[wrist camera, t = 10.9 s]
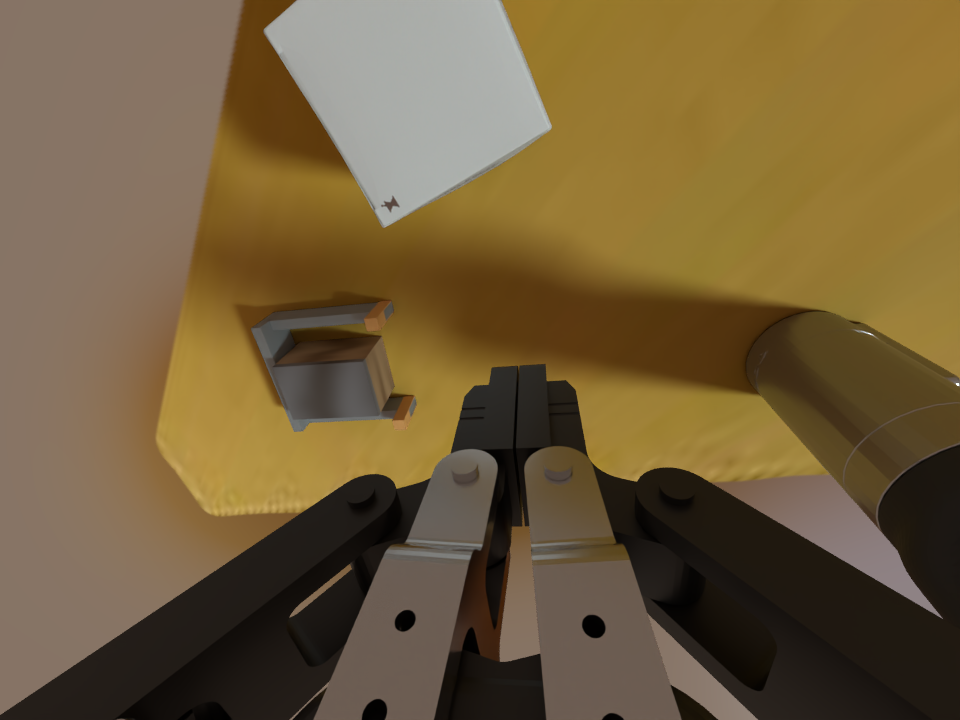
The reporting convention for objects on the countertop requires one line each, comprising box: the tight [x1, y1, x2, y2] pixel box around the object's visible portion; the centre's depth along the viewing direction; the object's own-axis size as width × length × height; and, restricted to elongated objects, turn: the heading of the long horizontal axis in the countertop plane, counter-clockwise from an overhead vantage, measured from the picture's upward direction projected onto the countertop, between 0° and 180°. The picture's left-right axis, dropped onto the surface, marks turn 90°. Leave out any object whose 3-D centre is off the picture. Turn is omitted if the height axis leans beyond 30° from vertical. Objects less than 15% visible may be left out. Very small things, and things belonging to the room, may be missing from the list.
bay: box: [251, 300, 417, 432], centre depth 42 cm, size 12×12×4 cm
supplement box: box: [263, 0, 552, 227], centre depth 25 cm, size 10×9×17 cm
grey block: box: [272, 336, 395, 420], centre depth 42 cm, size 9×6×6 cm, turn 97°
